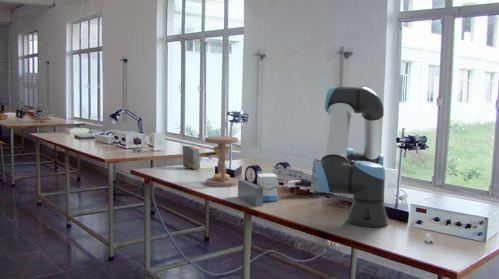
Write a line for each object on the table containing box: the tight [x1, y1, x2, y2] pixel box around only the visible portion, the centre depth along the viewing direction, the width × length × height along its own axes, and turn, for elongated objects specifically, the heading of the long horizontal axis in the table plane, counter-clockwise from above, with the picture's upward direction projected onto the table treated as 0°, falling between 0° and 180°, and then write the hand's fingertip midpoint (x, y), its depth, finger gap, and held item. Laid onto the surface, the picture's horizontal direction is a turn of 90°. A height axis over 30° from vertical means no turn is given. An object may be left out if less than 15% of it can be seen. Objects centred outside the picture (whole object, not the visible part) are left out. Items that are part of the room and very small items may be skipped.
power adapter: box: [423, 233, 434, 243], centre depth 158 cm, size 3×3×3 cm
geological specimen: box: [182, 145, 201, 170], centre depth 298 cm, size 11×6×15 cm, turn 45°
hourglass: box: [204, 135, 239, 188], centre depth 251 cm, size 18×18×25 cm
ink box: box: [256, 172, 278, 202], centre depth 217 cm, size 8×8×12 cm
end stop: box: [237, 179, 264, 207], centre depth 214 cm, size 20×5×8 cm, turn 25°
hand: (288, 184), depth 222 cm, fingers closed
